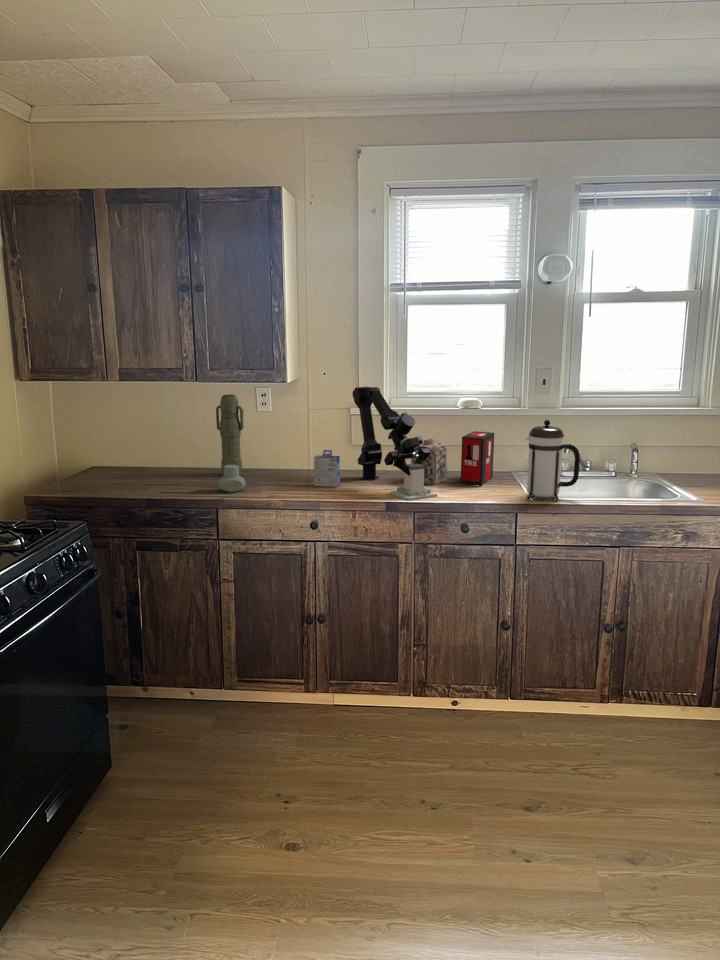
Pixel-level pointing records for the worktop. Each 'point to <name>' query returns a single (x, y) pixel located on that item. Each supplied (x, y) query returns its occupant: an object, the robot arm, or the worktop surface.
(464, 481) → the cleaning product box
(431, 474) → the decorative jar
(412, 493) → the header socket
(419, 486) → the block
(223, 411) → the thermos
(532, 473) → the coffee press
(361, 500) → the worktop surface
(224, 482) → the air freshener
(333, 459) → the ink cartridge box
